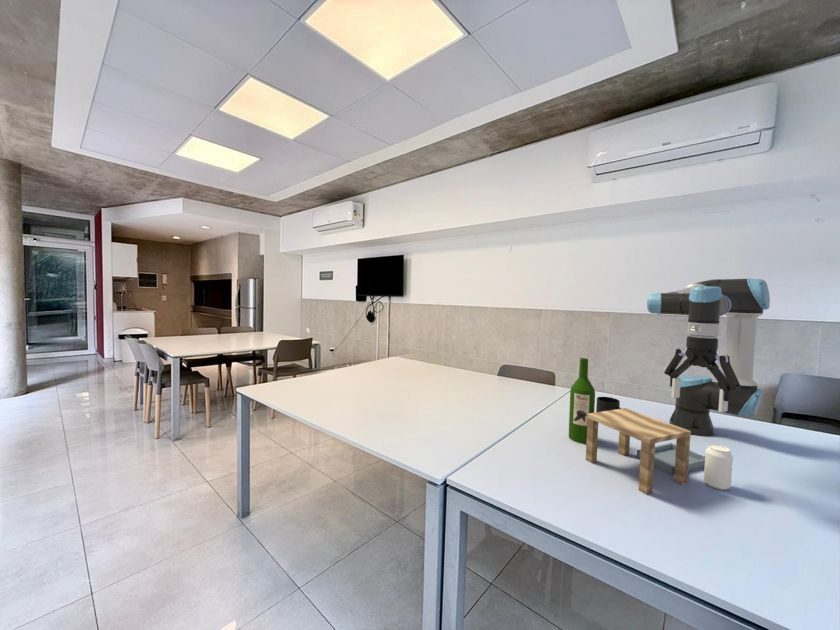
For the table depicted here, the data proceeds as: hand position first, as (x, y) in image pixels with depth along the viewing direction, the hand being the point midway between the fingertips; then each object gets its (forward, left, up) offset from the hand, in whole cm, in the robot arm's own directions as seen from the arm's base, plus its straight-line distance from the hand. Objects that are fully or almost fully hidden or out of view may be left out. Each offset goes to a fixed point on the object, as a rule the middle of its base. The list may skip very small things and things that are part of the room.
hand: (697, 404), depth 107 cm
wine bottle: (+10, -35, -24) cm, 44 cm away
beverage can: (-3, +5, -24) cm, 25 cm away
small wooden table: (+13, -10, -24) cm, 29 cm away
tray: (-6, -10, -24) cm, 27 cm away
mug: (-20, -47, -24) cm, 56 cm away
